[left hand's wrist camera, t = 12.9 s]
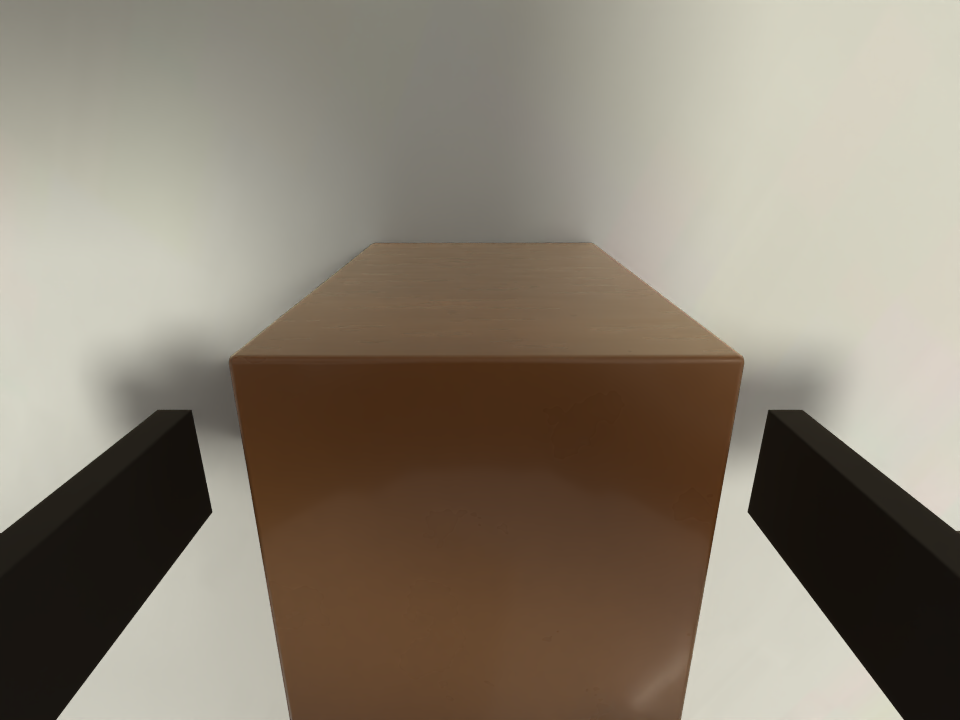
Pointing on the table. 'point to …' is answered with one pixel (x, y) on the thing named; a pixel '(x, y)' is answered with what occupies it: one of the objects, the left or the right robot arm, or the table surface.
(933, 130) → the table surface
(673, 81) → the table surface
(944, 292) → the table surface
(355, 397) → the post
